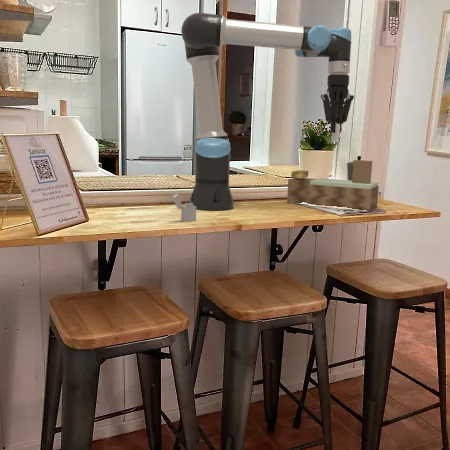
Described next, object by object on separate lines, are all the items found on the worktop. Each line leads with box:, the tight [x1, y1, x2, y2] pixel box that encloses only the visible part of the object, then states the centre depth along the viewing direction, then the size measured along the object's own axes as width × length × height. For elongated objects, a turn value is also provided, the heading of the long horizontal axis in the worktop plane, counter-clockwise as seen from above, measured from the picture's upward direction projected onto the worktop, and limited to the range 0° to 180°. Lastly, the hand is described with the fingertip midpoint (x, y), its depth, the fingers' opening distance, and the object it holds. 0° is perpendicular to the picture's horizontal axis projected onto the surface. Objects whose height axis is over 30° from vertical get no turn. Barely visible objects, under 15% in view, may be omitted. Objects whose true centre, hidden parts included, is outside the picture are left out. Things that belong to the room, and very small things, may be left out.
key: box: [290, 169, 309, 179], centre depth 192 cm, size 4×8×2 cm, turn 153°
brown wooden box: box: [286, 177, 380, 212], centre depth 187 cm, size 31×14×9 cm, turn 63°
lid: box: [310, 159, 379, 189], centre depth 184 cm, size 22×14×11 cm, turn 63°
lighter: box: [171, 193, 197, 222], centre depth 148 cm, size 7×2×8 cm, turn 116°
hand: (335, 142), depth 184 cm, fingers closed
